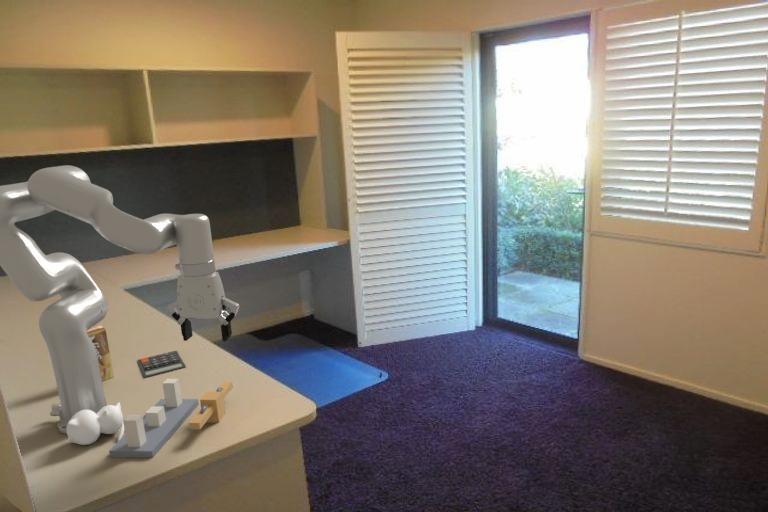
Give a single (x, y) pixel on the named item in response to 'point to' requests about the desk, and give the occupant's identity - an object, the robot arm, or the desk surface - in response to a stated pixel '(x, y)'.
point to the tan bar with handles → (211, 406)
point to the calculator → (160, 364)
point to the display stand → (154, 424)
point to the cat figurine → (95, 424)
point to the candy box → (102, 351)
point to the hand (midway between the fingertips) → (207, 338)
